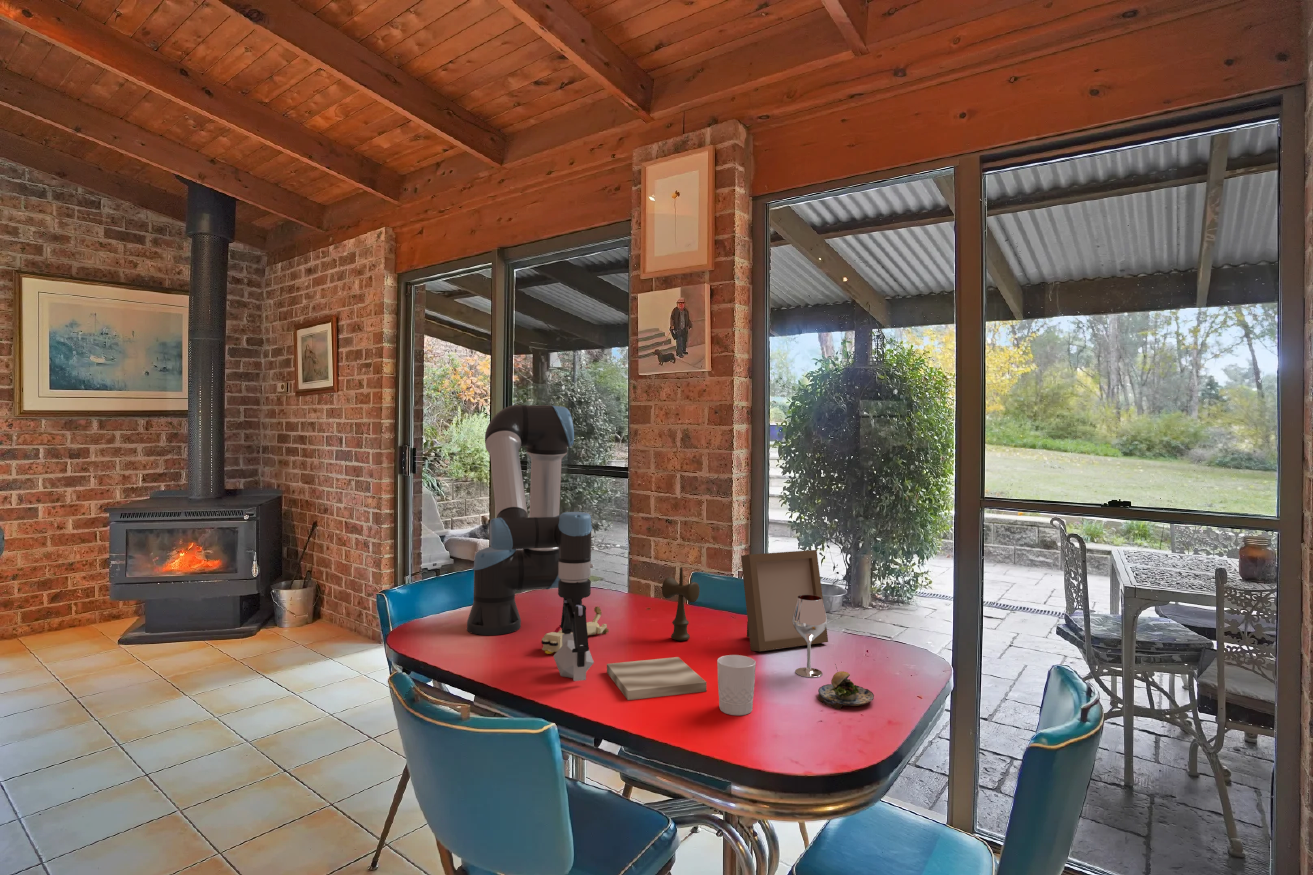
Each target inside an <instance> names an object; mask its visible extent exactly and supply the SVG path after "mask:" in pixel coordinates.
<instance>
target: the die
mask: <svg viewBox="0 0 1313 875" xmlns="http://www.w3.org/2000/svg"><path fill="white" fill-rule="evenodd" d="M580 646H583V645H580ZM572 649H575V645H574V641H572V640H567V641H566V642H565V643H564V645H563V646H562V647H561V648H560V649H559V650H558V651H557V652H554V655H553V656H552V657H553V659H554V662H555V665H556V667H557V669H558V671H559V672H558V673H559V675H560V677H564V678H569V679H573V671H574V653H572ZM594 664H595V660H594V659H593V657H592V654H591V651H590V650H589V651H586V673H587V672H588V670H589V669H590V668H591V667H592V666H593V665H594Z"/></svg>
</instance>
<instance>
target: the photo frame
mask: <svg viewBox="0 0 1313 875" xmlns="http://www.w3.org/2000/svg"><path fill="white" fill-rule="evenodd" d="M818 558H819V557H818V550H817V549H809V550H796V551H795V550H793V551H781V552H780V551H779V552H768V553H767V552H765V553H754V554H753V553H752V554H743V555H740V559H741V560H740V561H741V570H742V578H743V579H742V580H743V588H744V598H745V607H746V608H745V609H746V617H747V618H746V619H747V621H746V622H747V624H746V638H749V646H750V651H751V652H752V651H754V652H765V651H773V650H780V649H786V648H793V647H795V648H796V647H800V646H807V642H806V640H805V639H804V638H803V637H802V636H801V635H800V634H799V633H798V632H797V631H796V630H795V628H794V626H793V624H792V615H793V611H794V607H795V603H796V600H797V597H798V596H800V595H815V596H819V597H821V598H822V600H823V601H824V598H823V596H824V595H823V589H822V582H821V574H820V573H821V572H820V566H819V559H818ZM827 629H828V628H827V627H826V628H825V630H824V631H823V632H822V633H821V634H820V635H819V636H817V637H816V638H815V639H814V640H813V641H812V642H811V645H815V644H816V645H817V644H822V643H829V637H828V630H827Z"/></svg>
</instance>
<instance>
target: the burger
mask: <svg viewBox="0 0 1313 875" xmlns="http://www.w3.org/2000/svg"><path fill="white" fill-rule="evenodd" d="M834 665H835V668H836V670H837V672H836V673H835V674H833V676H832V678H831V681H830V682H831V683H830V684H829V683H828V684H825V685H824V684H823V685H821V686H820V687H819V688H818V695H817V699H818V701H819V702H820V703H821V704H823V705H826V706H829V707H831V708H834V709H835V710H836V709H837V710H841V709H842V707H843V706H848V707H850V706H851V707H858V706H859V707H860V706H863V705H866V704H868V703H870V702H871V701H873V700H875V694H874V693H873V692H872V690H869V689H868V688H864V687H862V686H859V685H857V684H855V683H854V682H853V681H852V680H851V679H848V678H849V677H850V676H851V673H849V672H847V671H844V670H843V671H842V670H841V671H840V670H839V671H838V668H837V665H836V663H834Z"/></svg>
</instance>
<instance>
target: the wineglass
mask: <svg viewBox="0 0 1313 875" xmlns="http://www.w3.org/2000/svg"><path fill="white" fill-rule="evenodd" d="M792 624H793V626H794V628H795V630H796V631H797V632H798V633H799V634H800V635H801V636H802V637H803V638H804V639H805V640H806V642H807V645H806V646H807V647H806V648H807V649H806V650H807V654H806V667H799V668H796V669H795V671H794V672H795V674H796V675H797V676H800V677H804V678H820V677H822V676H823V674H824V673H823V671H822V670H820V669H817V668H813V667H811V660H812V658H811V656H812V655H811V650H812V648H811V647H812V646H811V645H812V644H811V642H812V641H813V640H814V639H815V638H816V637H817V636H819V635H820V634H821V633H822V632H823V631H824V630H825V628H827V625H828V618H827V612H826V609H825V606H824V599H823V600H822V598H821V597H819V596H815V595H800V596H798V597H797V600H796V603H795V607H794V611H793V615H792Z"/></svg>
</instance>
